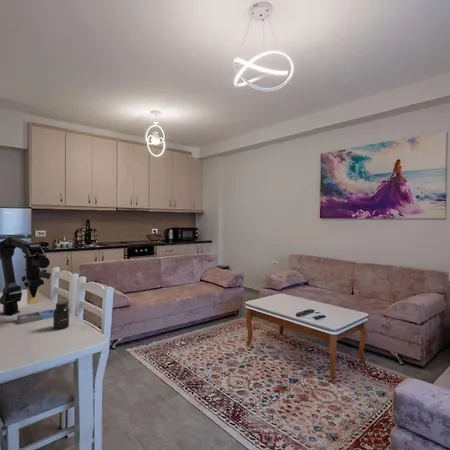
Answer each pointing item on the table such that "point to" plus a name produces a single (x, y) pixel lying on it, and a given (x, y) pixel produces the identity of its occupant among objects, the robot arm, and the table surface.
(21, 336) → the table surface
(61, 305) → the supplement bottle
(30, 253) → the robot arm
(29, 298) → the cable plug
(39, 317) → the duct block
